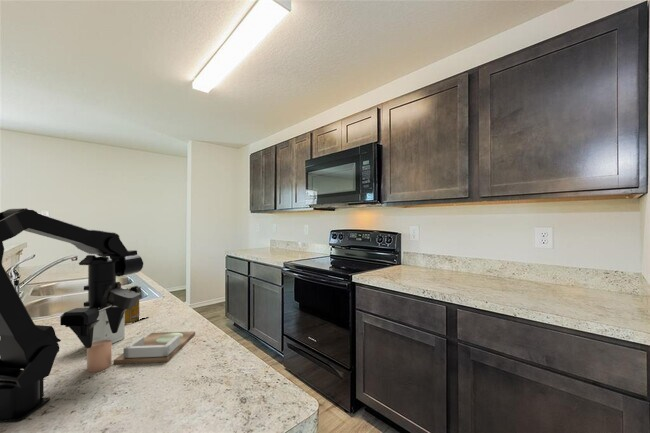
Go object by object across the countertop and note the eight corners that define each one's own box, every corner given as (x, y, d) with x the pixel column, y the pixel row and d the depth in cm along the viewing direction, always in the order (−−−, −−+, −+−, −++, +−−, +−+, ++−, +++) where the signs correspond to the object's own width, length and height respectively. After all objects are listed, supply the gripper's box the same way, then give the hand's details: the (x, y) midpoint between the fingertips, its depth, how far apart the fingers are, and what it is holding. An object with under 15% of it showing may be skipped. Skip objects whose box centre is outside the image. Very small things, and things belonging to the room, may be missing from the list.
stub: (102, 371, 71) (102, 347, 71) (81, 372, 70) (81, 348, 70) (116, 361, 76) (116, 339, 76) (96, 362, 75) (96, 340, 75)
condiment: (114, 323, 105) (114, 290, 105) (136, 315, 113) (136, 285, 113) (128, 325, 102) (127, 292, 102) (149, 317, 110) (149, 287, 110)
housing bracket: (167, 356, 76) (167, 346, 76) (123, 357, 75) (123, 348, 75) (179, 344, 83) (179, 335, 83) (139, 345, 82) (139, 337, 82)
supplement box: (103, 348, 83) (103, 306, 84) (83, 346, 85) (83, 305, 85) (125, 338, 91) (125, 299, 91) (106, 336, 92) (106, 298, 92)
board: (167, 361, 75) (167, 357, 75) (113, 363, 74) (113, 359, 74) (195, 334, 93) (195, 331, 93) (151, 335, 92) (151, 332, 92)
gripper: (108, 287, 65) (108, 356, 64) (153, 272, 83) (154, 325, 83) (58, 289, 64) (57, 357, 64) (114, 273, 83) (115, 326, 82)
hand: (102, 340), depth 73 cm, fingers open, 9 cm apart
